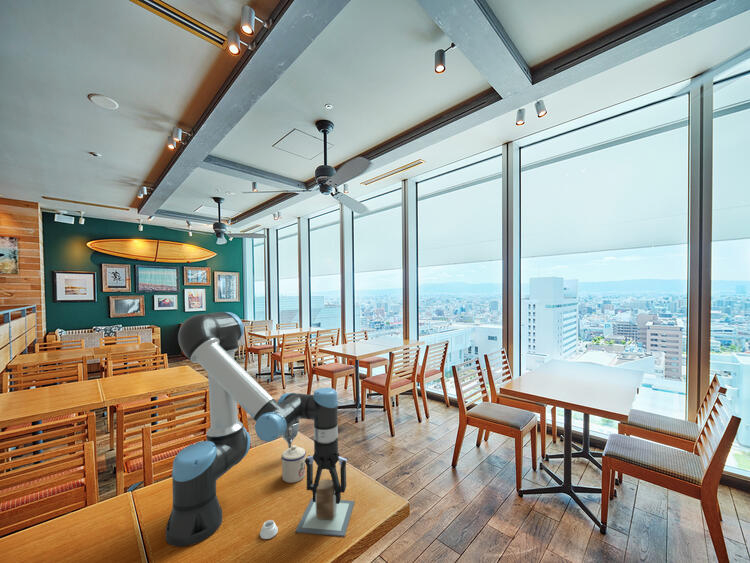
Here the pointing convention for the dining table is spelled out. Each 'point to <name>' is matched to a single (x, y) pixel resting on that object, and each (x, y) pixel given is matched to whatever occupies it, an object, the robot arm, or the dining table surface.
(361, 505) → the dining table surface
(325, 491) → the block
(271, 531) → the lidless jar
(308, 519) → the coaster
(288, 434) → the silver goblet
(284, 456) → the teacup with lid
